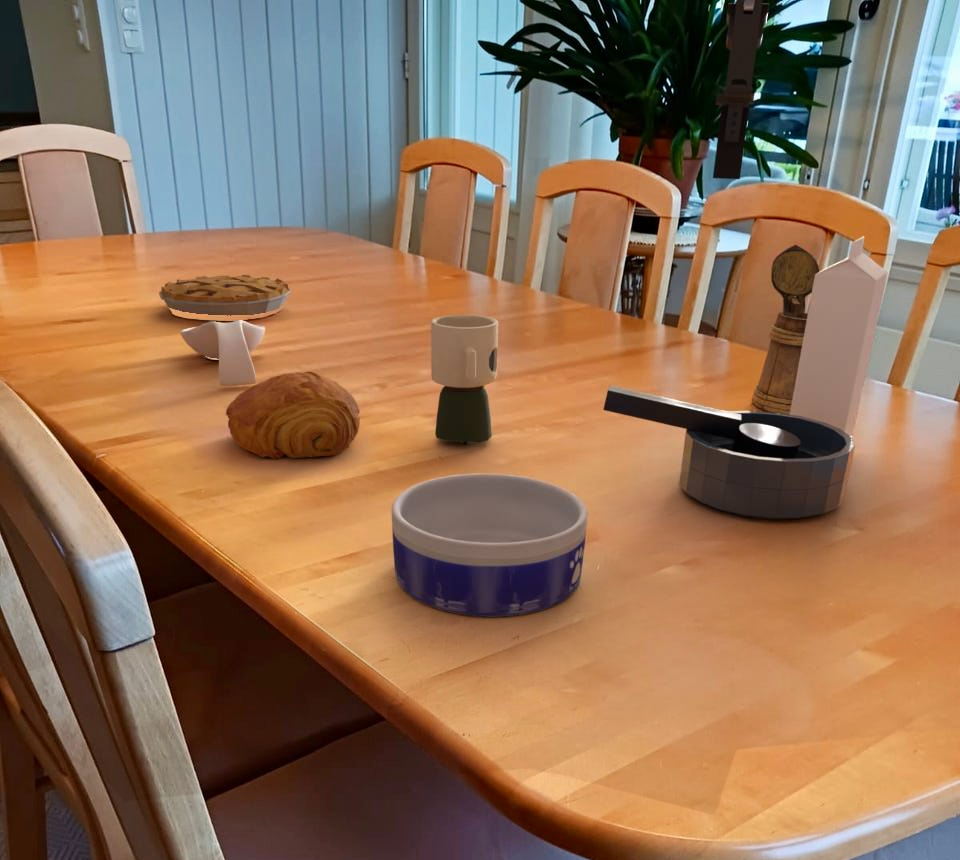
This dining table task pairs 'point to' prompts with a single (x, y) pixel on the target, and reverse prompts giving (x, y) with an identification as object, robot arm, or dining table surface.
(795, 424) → the serving bowl
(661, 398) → the ladle
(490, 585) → the dog bowl
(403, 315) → the dining table surface
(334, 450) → the croissant
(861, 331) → the milk
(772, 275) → the brown wooden tall piece
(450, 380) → the character mug
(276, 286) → the pie
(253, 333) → the spoon rest
